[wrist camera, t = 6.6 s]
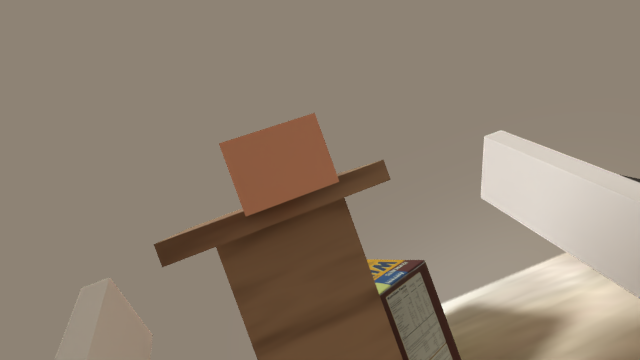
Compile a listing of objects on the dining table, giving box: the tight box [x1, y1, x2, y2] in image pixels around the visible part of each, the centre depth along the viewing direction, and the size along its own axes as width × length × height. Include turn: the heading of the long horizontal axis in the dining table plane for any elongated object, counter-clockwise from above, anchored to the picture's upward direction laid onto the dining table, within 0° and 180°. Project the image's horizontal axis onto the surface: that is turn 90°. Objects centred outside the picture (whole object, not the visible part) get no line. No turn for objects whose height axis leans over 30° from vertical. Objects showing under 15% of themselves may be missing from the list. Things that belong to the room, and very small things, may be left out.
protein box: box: [367, 260, 461, 360], centre depth 47 cm, size 10×15×16 cm
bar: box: [219, 113, 339, 216], centre depth 25 cm, size 24×4×3 cm, turn 12°
